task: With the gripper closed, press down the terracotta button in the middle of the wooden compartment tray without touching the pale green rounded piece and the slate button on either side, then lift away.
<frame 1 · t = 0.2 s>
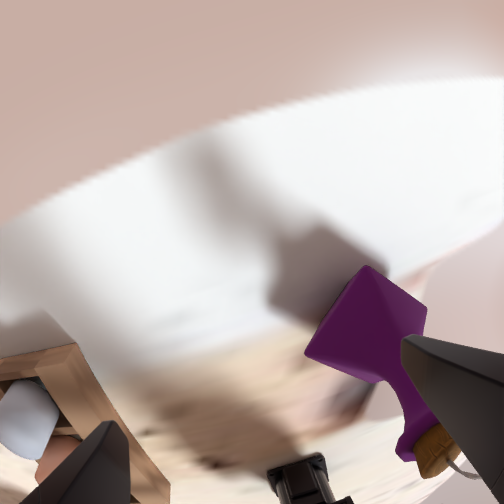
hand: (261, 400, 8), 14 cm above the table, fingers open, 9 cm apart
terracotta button: (66, 469, 20), point 5 cm above the table, slide at 0.0 cm
slate button: (24, 419, 18), point 5 cm above the table, slide at 0.0 cm
perfume bottle: (352, 311, 25), on the table
wooden compartment tray: (78, 434, 24), on the table
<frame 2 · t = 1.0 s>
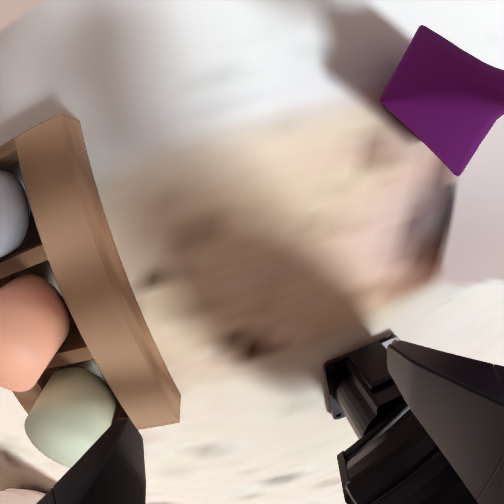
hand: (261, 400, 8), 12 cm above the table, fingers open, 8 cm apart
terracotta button: (18, 330, 14), point 5 cm above the table, slide at 0.0 cm
pale green rounded piece: (72, 418, 15), point 5 cm above the table, slide at 0.0 cm
perfume bottle: (414, 104, 19), on the table
wooden compartment tray: (51, 297, 18), on the table
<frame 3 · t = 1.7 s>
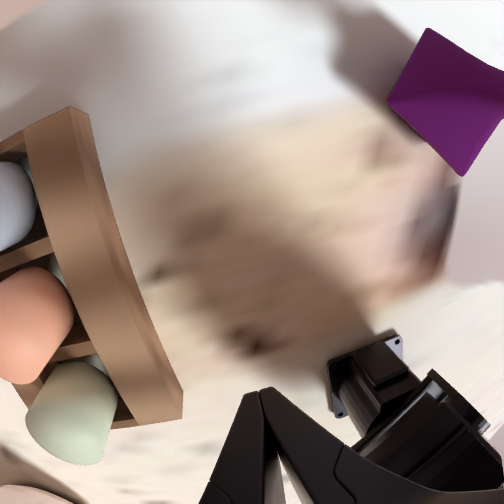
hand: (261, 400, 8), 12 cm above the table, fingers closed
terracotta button: (21, 322, 14), point 5 cm above the table, slide at 0.0 cm
pale green rounded piece: (73, 412, 15), point 5 cm above the table, slide at 0.0 cm
perfume bottle: (419, 105, 19), on the table
wooden compartment tray: (55, 290, 19), on the table
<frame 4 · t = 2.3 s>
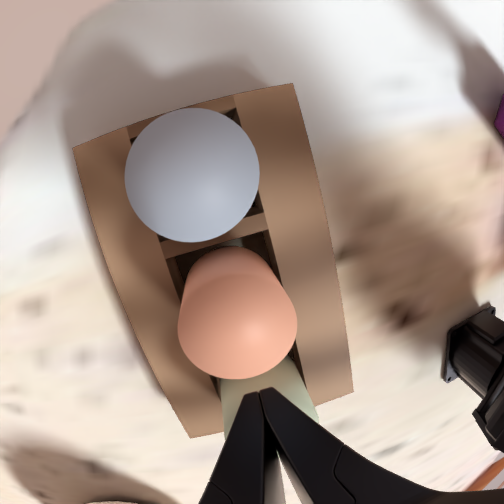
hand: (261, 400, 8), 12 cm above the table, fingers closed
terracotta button: (233, 308, 15), point 5 cm above the table, slide at 0.0 cm
slate button: (194, 174, 14), point 5 cm above the table, slide at 0.0 cm
pale green rounded piece: (265, 403, 17), point 5 cm above the table, slide at 0.0 cm
wooden compartment tray: (227, 275, 20), on the table
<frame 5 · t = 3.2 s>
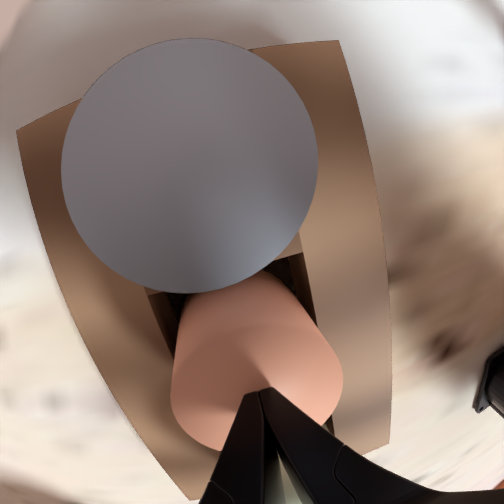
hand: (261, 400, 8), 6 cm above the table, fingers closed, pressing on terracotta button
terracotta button: (248, 356, 11), point 4 cm above the table, slide at 1.0 cm, touching gripper
slate button: (191, 165, 8), point 5 cm above the table, slide at 0.0 cm
pale green rounded piece: (288, 476, 11), point 5 cm above the table, slide at 0.0 cm
wooden compartment tray: (237, 309, 14), on the table
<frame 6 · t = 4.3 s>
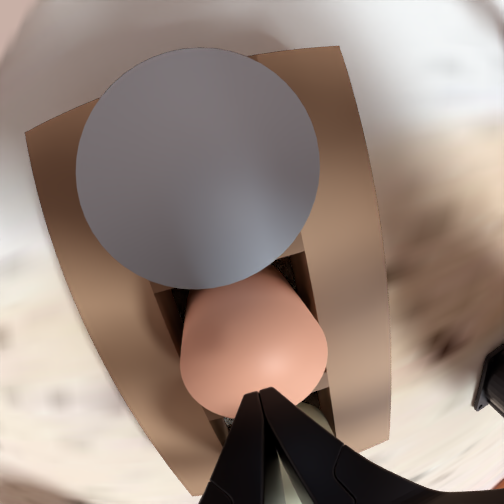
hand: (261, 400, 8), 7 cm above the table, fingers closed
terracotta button: (247, 333, 12), point 2 cm above the table, slide at 2.5 cm
slate button: (198, 167, 8), point 5 cm above the table, slide at 0.0 cm
pale green rounded piece: (290, 471, 12), point 5 cm above the table, slide at 0.0 cm
wooden compartment tray: (240, 307, 15), on the table
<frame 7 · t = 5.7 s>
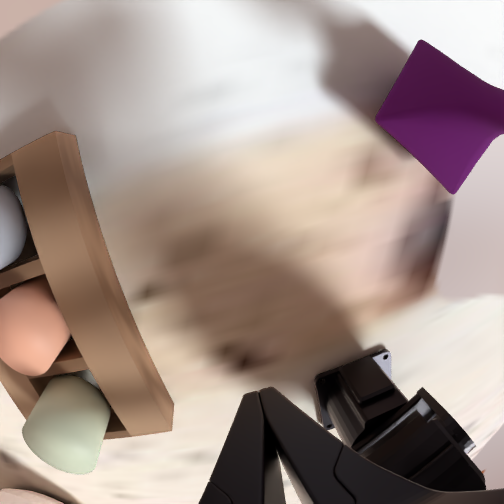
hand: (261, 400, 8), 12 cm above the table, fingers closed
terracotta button: (33, 322, 16), point 2 cm above the table, slide at 2.5 cm
pale green rounded piece: (68, 424, 16), point 5 cm above the table, slide at 0.0 cm
perfume bottle: (411, 119, 19), on the table
wooden compartment tray: (49, 307, 19), on the table
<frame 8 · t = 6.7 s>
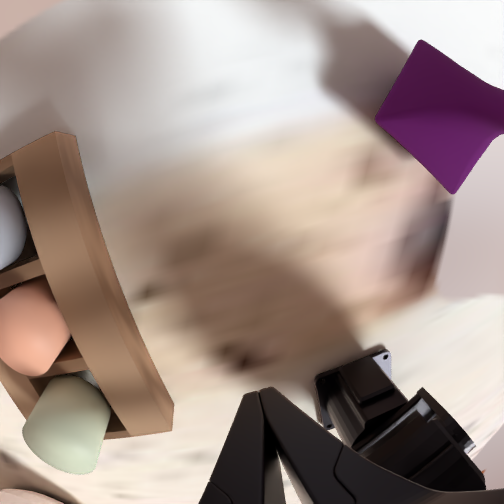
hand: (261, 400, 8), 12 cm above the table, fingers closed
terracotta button: (33, 322, 16), point 2 cm above the table, slide at 2.5 cm
pale green rounded piece: (68, 425, 16), point 5 cm above the table, slide at 0.0 cm
perfume bottle: (411, 119, 19), on the table
wooden compartment tray: (49, 307, 19), on the table
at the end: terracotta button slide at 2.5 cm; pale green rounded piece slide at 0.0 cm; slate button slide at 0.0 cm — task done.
